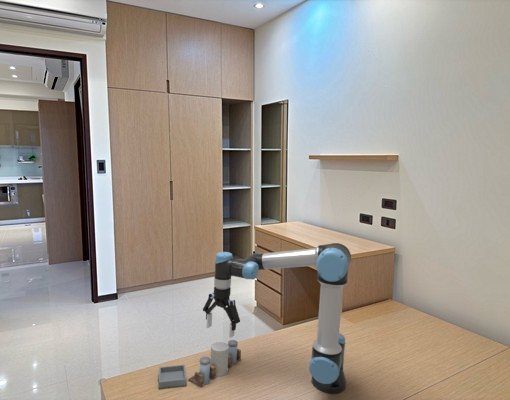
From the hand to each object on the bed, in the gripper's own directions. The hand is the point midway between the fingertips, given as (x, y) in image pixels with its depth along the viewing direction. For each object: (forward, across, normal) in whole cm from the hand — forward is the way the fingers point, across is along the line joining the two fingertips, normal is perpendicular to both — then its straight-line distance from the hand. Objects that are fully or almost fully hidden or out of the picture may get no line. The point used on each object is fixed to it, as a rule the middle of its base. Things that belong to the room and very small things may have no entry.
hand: (220, 331), depth 159 cm
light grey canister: (+19, 0, 0) cm, 19 cm away
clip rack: (+19, +1, 0) cm, 19 cm away
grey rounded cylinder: (+19, 0, +10) cm, 21 cm away
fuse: (+19, 0, -10) cm, 21 cm away
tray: (+19, +11, +18) cm, 28 cm away
